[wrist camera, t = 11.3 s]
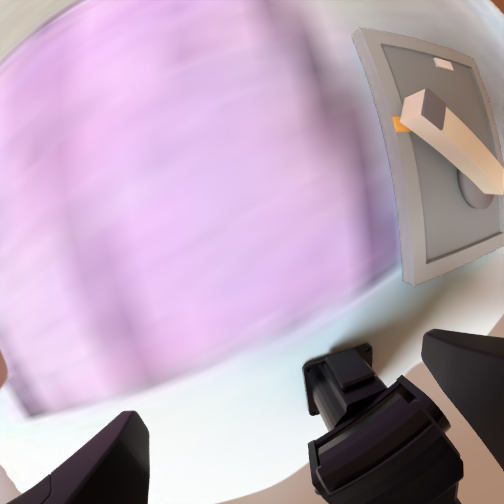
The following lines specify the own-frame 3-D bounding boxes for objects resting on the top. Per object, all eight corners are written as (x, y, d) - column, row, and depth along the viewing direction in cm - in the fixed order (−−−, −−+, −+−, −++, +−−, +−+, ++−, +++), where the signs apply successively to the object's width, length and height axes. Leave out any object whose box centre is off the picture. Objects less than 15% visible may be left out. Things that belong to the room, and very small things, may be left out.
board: (498, 241, 22) (510, 243, 20) (402, 280, 21) (416, 287, 19) (464, 62, 18) (475, 57, 16) (351, 36, 17) (361, 25, 15)
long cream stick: (491, 167, 19) (517, 166, 15) (482, 218, 20) (509, 222, 16) (401, 85, 17) (429, 70, 13) (387, 143, 17) (419, 135, 14)
